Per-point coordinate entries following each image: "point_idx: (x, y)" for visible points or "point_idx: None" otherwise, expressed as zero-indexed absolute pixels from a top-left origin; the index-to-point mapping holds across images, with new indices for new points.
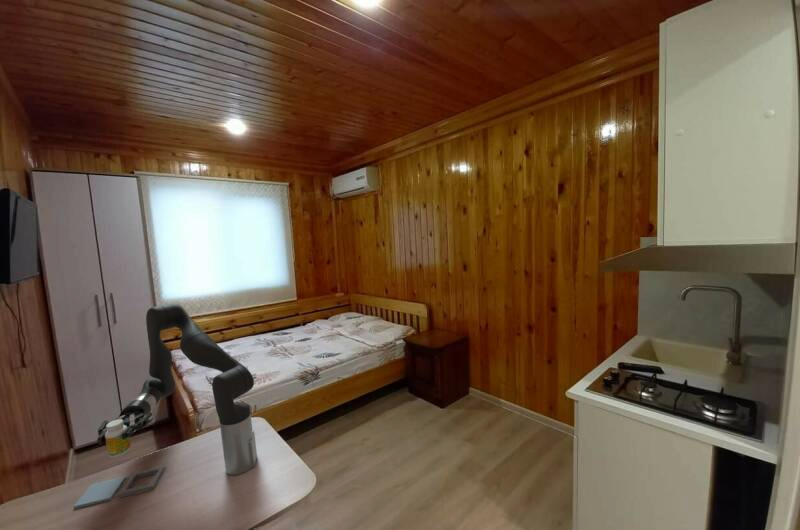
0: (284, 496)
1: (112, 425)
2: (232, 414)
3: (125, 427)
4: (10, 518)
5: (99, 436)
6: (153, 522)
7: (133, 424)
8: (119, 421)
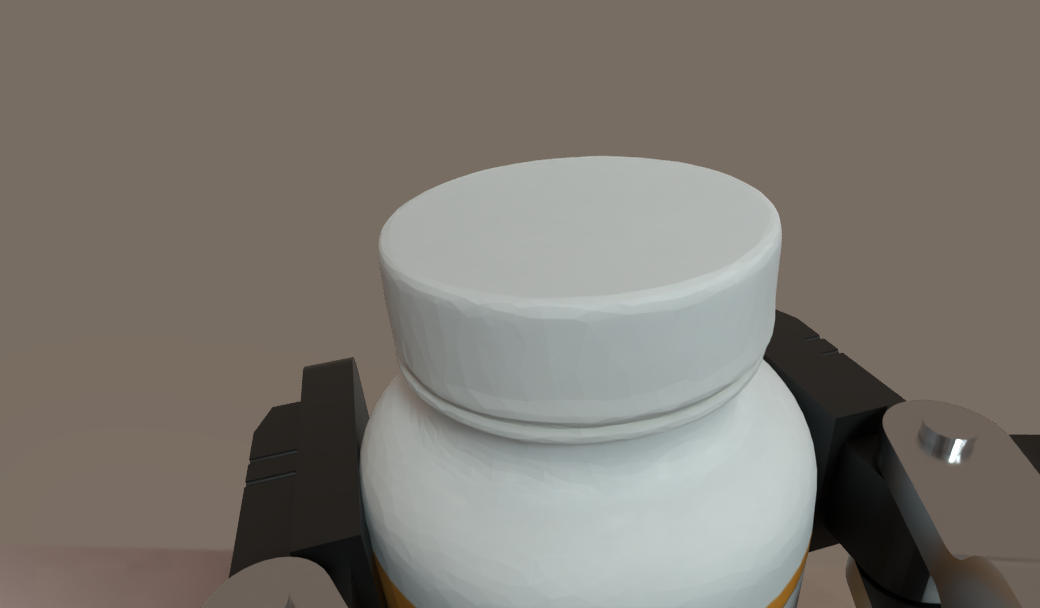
0: None
1: (528, 172)
2: None
3: (383, 461)
4: None
5: (812, 343)
6: (162, 553)
7: (211, 604)
8: (479, 245)
